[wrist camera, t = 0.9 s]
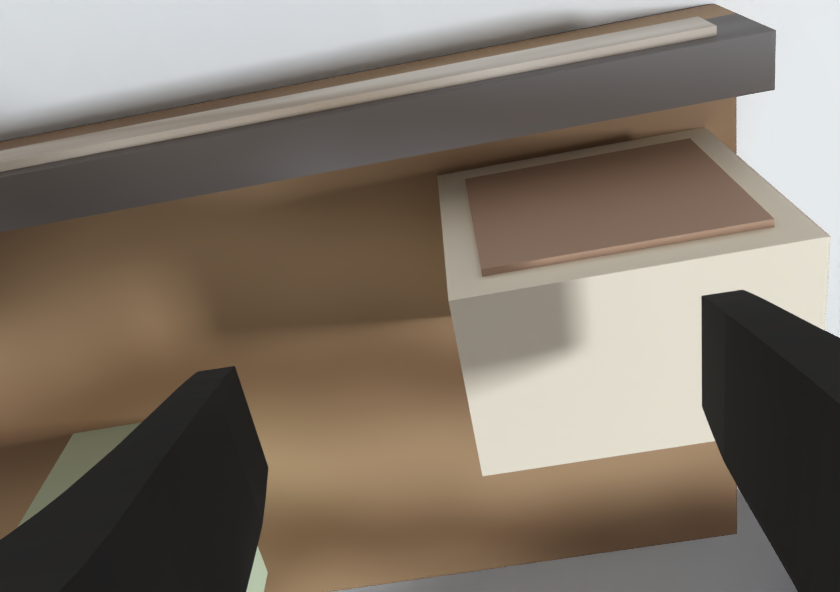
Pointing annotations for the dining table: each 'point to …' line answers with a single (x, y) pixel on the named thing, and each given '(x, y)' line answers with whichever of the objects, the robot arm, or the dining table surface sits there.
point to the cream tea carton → (610, 290)
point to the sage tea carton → (86, 454)
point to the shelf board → (343, 294)
